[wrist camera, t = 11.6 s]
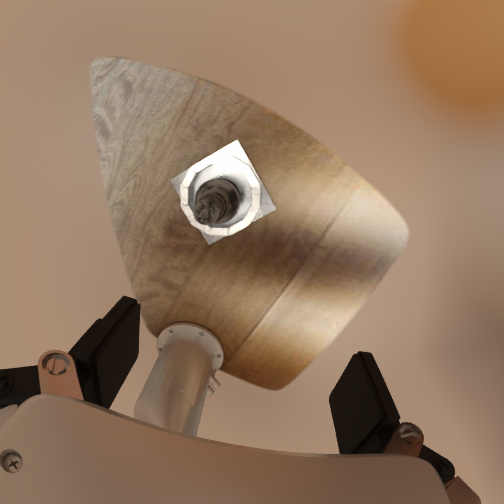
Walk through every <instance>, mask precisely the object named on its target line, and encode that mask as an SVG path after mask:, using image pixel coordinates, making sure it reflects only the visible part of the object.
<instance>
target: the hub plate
mask: <svg viewBox="0 0 504 504" xmlns="http://www.w3.org/2000/svg"><path fill="white" fill-rule="evenodd" d="M220 178H221V179H227V180H230V181H231V182H233V183H234V184H235V185H236V186H237V188H238V190H239V192H240V207H239V210H238V212H237V214H236V215H235V216H234V217H233V218H232V219H231V220H230V221H228V222H226V223H222V224H210V225H202V224H200V223H198V222H197V221H196V220H195V218H194V215H193V209H194V206H195V203H194V202H195V194H196V191H197V190H198V188H199V187H200V186H201V185H202V184H203V183H204V182H206V181H208V180H210V179H220ZM170 181H171V182H172V184H173V186H174V187H175V189H176V191H177V193H178V194H179V196H180V198H181V206H182V207H181V208H182V209H183V211H184V213H185V214H186V216H187V218H188V219H189V221H190V223H191V224H192V225H193V226H195V227H197V228H198V229H200V231H201V233H202V234H203V236H204V238H205V239H206V241H207V242H208V244H209V245H210V244H212V243H214V242H216V241H218V240H219V239H221V238H223V237H225V236H227V235H229V236H230V235H232V234H234V233H236V232H238V231H240V230H242V229H243V228H245V227H247V226H248V225H249V224H250V223H251V222H253V221H255V220H257V219H259V218H261V217H263V216H265V215H267V214H268V213H270V212H272V211H274V210H276V206H275V205H274V203H273V201H272V199H271V197H270V195H269V194H268V192H267V190H266V188H265V186H264V185H263V183H262V181H261V179H260V177H259V176H258V174H257V172H256V170H255V169H254V167H253V165H252V163H251V161H250V160H249V158H248V156H247V154H246V153H245V151H244V149H243V148H242V146H241V144H240V142H239V141H238V140H236V141H234V142H232V143H231V144H229V145H227V146H225V147H224V148H222V149H220V150H218V151H217V152H215V153H213V154H212V155H210V156H208V157H207V158H205V159H203V160H202V161H200V162H198V163H197V164H195V165H193V166H192V167H190V168H189V169H187V170H185V171H184V172H182V173H181V174H179V175H178V176H176V177H174V178H173V179H171V180H170Z"/></svg>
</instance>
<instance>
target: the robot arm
mask: <svg viewBox="0 0 504 504" xmlns="http://www.w3.org/2000/svg"><path fill="white" fill-rule="evenodd" d="M140 308H141V306H140V304H138V303H137V300H136V299H133V298H130V297H127V296H123V297H122V298H121V299H120V300H119V301H118V302H117V303H116V304H115V306H114V307H113V308H112V309H111V310H110V311H109V312H108V313H107V315H106V316H105V317H104V318H103V319H98V320H96V322H95V323H94V324H93V325H92V326H91V327H90V328H89V329H88V330H87V332H86V333H85V334H84V335H83V336H82V337H81V338H80V339H79V340H78V342H77V343H76V344H75V345H74V346H73V347H72V349H71V350H70V351H69V352H68V353H66V352H64V351H60V350H51V351H48V352H45V353H44V354H43V355H41V356H40V359H39V361H38V365H35V366H28V367H20V368H10V369H0V504H481V500H480V498H479V496H478V495H477V494H476V493H475V492H474V491H473V490H472V489H471V488H470V487H468V485H467V484H466V483H465V482H464V481H463V480H462V479H461V478H460V477H459V476H457V477H456V478H455V477H454V475H455V469H454V466H453V464H452V463H451V462H450V461H449V460H448V459H446V458H444V457H443V456H441V455H439V454H437V453H436V452H434V451H433V450H431V449H430V448H428V447H426V446H425V445H423V442H424V435H423V433H422V431H421V430H420V428H419V427H418V426H416V425H415V424H412V423H409V422H403V423H401V424H400V422H399V419H400V415H399V413H398V411H397V409H396V406H395V404H394V401H393V399H392V397H391V395H390V392H389V390H388V388H387V385H386V383H385V381H384V379H383V377H382V375H381V372H380V370H379V368H378V366H377V364H376V362H375V360H374V357H373V355H372V354H371V353H369V352H362V351H359V352H358V353H357V354H354V355H353V356H352V358H351V360H350V362H349V363H348V365H347V367H346V369H345V370H344V372H343V374H342V376H341V377H340V379H339V381H338V382H337V384H336V386H335V387H334V389H333V391H332V392H331V394H330V397H329V403H330V408H331V413H332V418H333V422H334V427H335V431H336V437H337V442H338V447H339V452H340V454H314V453H298V452H286V451H276V450H267V449H259V448H252V447H246V446H240V445H234V444H228V443H223V442H218V441H214V440H209V439H204V438H200V437H196V435H197V431H198V427H199V422H200V418H201V413H202V409H203V405H204V401H205V397H206V396H211V395H212V394H213V393H214V390H213V389H212V387H211V386H210V385H209V382H210V383H211V385H213V387H214V388H218V387H220V383H219V382H218V381H217V380H216V379H215V378H214V375H215V372H216V371H217V370H218V369H219V368H220V367H221V365H222V363H223V359H224V350H223V346H222V344H221V342H220V341H219V339H218V338H217V337H216V336H215V335H214V334H213V333H212V332H211V331H209V330H208V329H206V328H204V327H202V326H200V325H197V324H194V323H188V322H179V323H174V324H171V325H169V326H167V327H166V328H164V329H163V330H162V332H161V333H160V335H159V337H158V340H157V350H158V353H159V356H158V358H157V361H156V363H155V365H154V367H153V369H152V371H151V373H150V375H149V377H148V379H147V381H146V383H145V386H144V388H143V390H142V392H141V394H140V396H139V398H138V400H137V402H136V405H135V408H134V418H132V417H129V416H126V415H123V414H120V413H118V412H115V411H113V410H110V409H109V408H110V406H111V404H112V403H113V401H114V399H115V397H116V395H117V393H118V392H119V390H120V388H121V386H122V384H123V383H124V381H125V379H126V377H127V375H128V373H129V372H130V370H131V368H132V366H133V365H134V363H135V361H136V360H137V357H138V353H139V327H140V326H139V324H140Z"/></svg>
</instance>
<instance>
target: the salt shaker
mask: <svg viewBox="0 0 504 504" xmlns="http://www.w3.org/2000/svg"><path fill="white" fill-rule="evenodd" d="M194 203H195V206H194V209H193V215H194V218H195V220H196V221H197V222H198V223H200V224H202V225H210V224H222V223H226V222H228V221H230V220H231V219H232V218H233V217H234V216H235V215H236V214H237V212H238V210H239V207H240V192H239V190H238V188H237V186H236V185H235V184H234V183H233V182H231V181H230V180H227V179H221V178H220V179H210V180H208V181H206V182H204V183H203V184H202V185H201V186H200V187H199V188H198V190H197V191H196V194H195V202H194Z"/></svg>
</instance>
